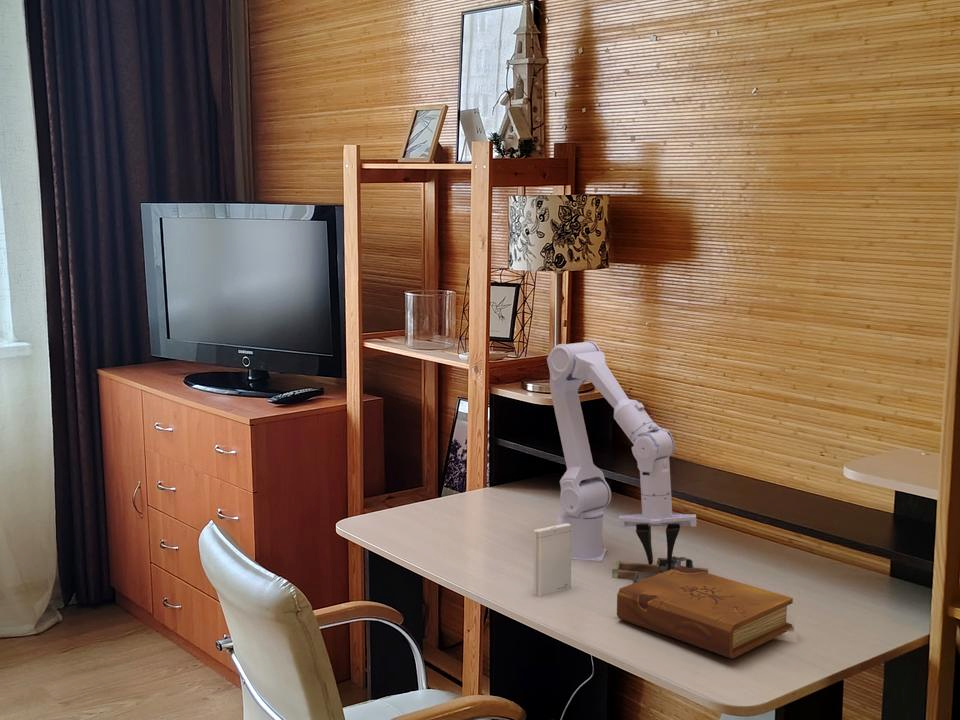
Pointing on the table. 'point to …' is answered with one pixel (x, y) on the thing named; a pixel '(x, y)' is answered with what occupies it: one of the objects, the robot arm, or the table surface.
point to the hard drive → (552, 559)
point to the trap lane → (641, 569)
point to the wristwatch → (677, 559)
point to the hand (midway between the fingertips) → (659, 563)
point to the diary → (705, 610)
